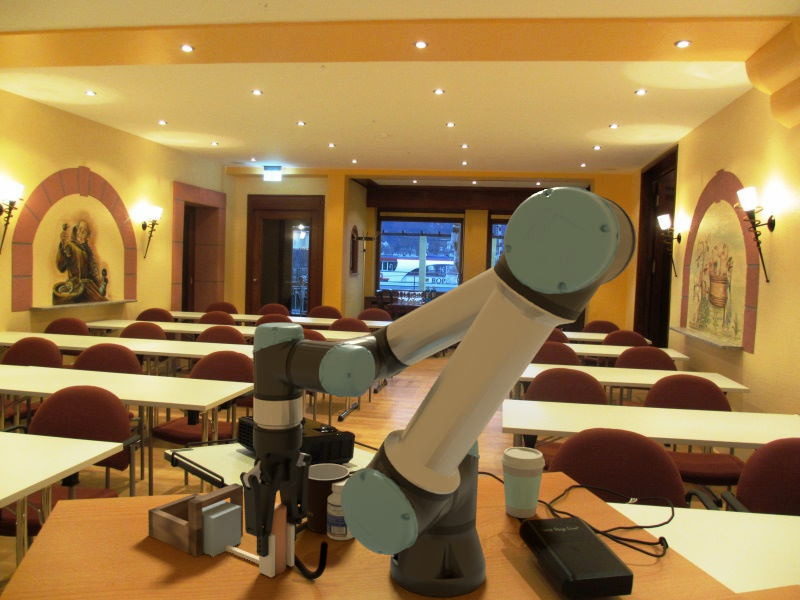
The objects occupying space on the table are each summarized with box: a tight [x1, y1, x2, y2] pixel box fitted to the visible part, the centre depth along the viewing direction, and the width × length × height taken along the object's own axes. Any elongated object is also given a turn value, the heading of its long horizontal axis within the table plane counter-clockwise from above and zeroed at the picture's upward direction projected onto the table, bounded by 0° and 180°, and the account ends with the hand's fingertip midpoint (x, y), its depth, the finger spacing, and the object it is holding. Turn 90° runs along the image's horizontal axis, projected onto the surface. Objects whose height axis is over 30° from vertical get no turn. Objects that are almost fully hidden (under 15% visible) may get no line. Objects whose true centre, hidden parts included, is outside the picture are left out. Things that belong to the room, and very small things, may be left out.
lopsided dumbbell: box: [202, 500, 287, 575], centre depth 104 cm, size 19×6×10 cm, turn 57°
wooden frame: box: [147, 483, 244, 557], centre depth 111 cm, size 13×10×9 cm
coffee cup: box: [500, 446, 546, 519], centre depth 124 cm, size 8×8×12 cm
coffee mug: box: [305, 463, 351, 534], centre depth 117 cm, size 12×9×10 cm
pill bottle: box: [326, 478, 355, 541], centre depth 113 cm, size 5×5×10 cm
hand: (276, 568), depth 100 cm, fingers closed on lopsided dumbbell, 3 cm apart
